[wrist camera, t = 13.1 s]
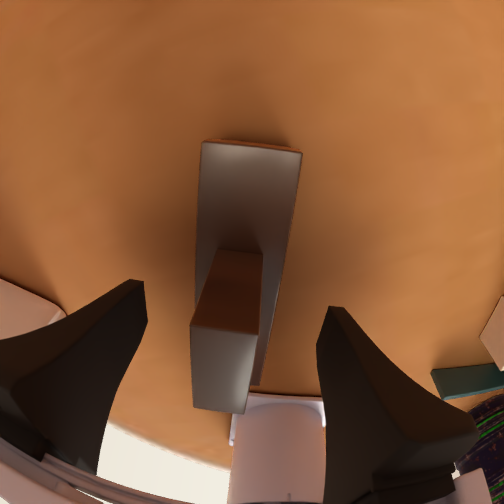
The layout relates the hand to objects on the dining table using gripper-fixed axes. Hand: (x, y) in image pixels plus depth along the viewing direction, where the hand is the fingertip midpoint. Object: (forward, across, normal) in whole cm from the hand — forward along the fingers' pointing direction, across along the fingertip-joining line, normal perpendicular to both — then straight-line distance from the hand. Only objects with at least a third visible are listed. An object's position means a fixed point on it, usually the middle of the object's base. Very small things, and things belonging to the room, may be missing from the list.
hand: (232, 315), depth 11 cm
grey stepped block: (+5, 0, 0) cm, 5 cm away
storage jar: (+5, -32, +19) cm, 37 cm away
